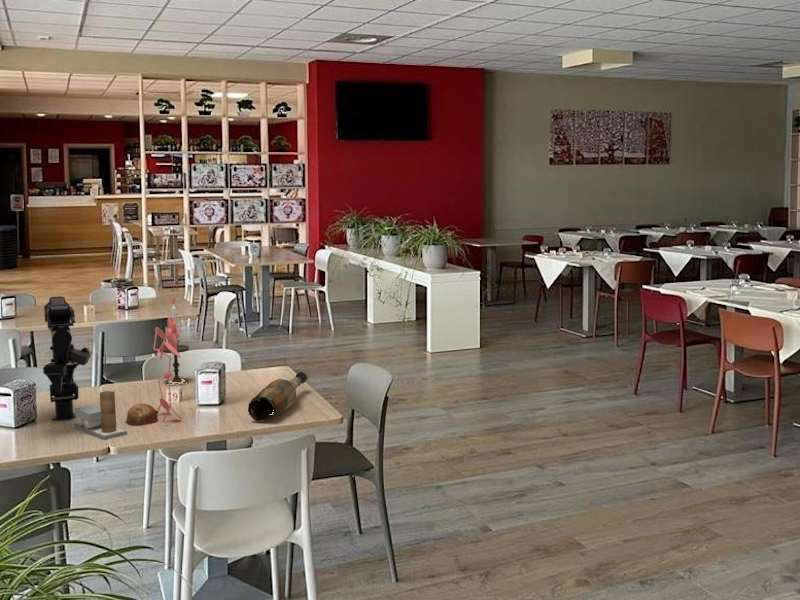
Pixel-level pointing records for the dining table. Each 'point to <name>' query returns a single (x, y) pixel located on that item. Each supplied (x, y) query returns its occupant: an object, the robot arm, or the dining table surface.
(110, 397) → the walnut roller
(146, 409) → the bread roll
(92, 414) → the grey stand
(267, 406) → the decorative bottle
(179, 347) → the candlestick
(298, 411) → the dining table surface
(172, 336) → the figurine
